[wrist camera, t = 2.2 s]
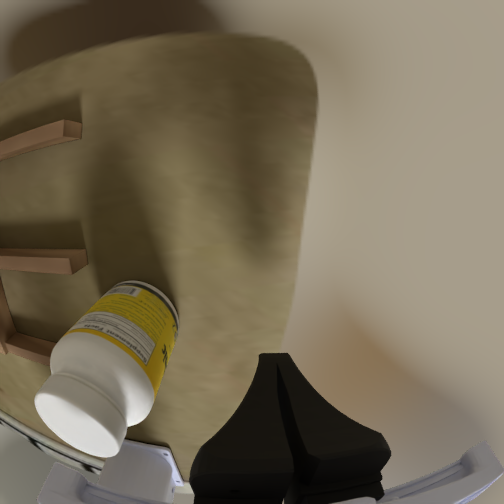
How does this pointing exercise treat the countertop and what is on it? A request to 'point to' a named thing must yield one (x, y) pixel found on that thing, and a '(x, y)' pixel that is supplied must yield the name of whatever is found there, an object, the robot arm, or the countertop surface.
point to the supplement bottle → (109, 368)
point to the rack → (35, 260)
